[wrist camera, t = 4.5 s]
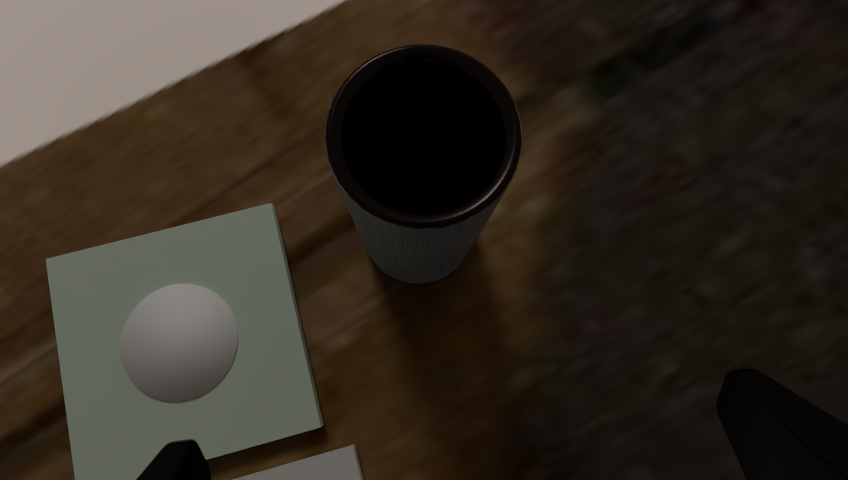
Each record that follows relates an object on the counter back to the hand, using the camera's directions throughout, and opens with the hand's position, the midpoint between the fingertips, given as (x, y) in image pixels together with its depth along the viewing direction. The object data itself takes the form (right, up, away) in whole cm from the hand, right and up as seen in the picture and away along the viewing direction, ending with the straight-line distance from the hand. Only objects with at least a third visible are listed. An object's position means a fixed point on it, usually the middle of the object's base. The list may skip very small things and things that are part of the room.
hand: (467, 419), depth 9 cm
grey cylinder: (-1, +3, +13) cm, 14 cm away
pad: (-10, -1, +12) cm, 16 cm away
